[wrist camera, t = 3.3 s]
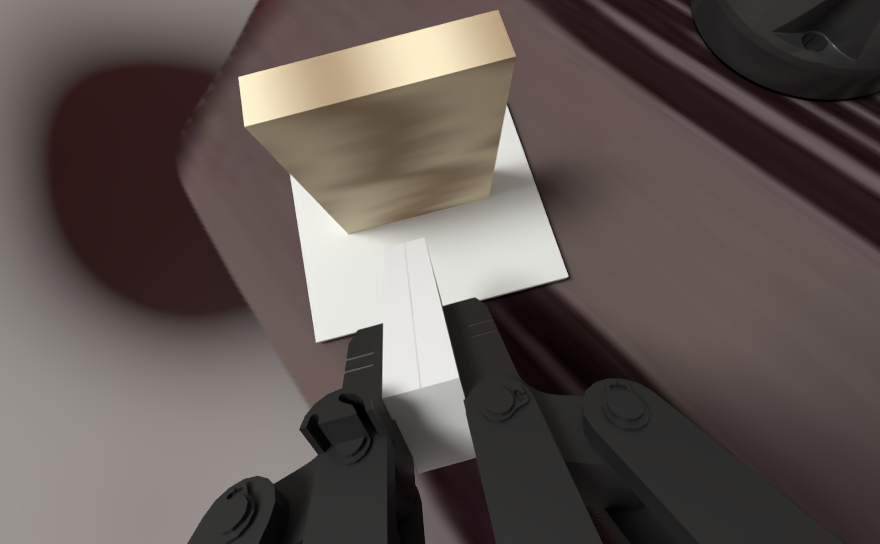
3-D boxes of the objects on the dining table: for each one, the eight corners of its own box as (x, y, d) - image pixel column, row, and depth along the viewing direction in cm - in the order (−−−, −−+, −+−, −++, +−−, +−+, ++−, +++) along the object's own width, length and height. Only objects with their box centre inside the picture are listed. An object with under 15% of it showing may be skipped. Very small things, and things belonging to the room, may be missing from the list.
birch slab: (480, 169, 21) (498, 9, 11) (488, 197, 20) (515, 56, 10) (342, 205, 21) (238, 76, 11) (348, 234, 20) (244, 126, 10)
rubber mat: (481, 44, 24) (482, 36, 23) (565, 278, 19) (568, 276, 19) (281, 96, 24) (277, 90, 23) (320, 342, 19) (316, 342, 19)
